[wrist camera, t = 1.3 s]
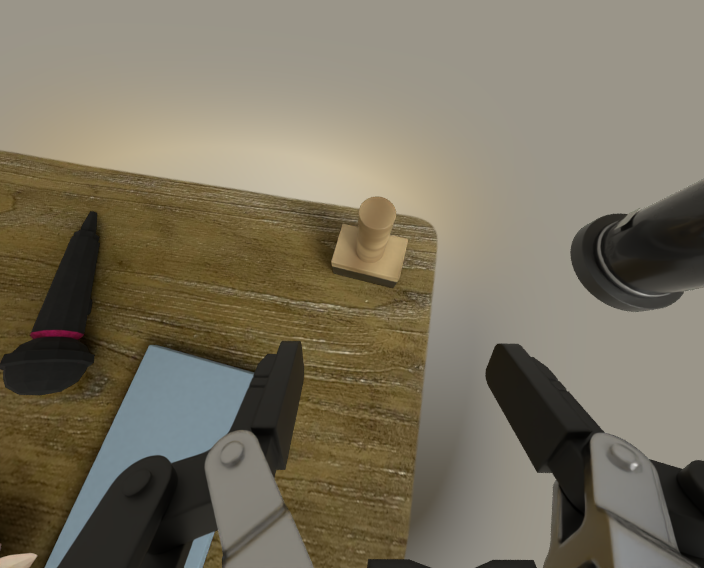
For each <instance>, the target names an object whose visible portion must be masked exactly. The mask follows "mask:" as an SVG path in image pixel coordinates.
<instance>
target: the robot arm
mask: <svg viewBox="0 0 704 568" xmlns="http://www.w3.org/2000/svg"><path fill="white" fill-rule="evenodd" d="M639 209H640V208H639ZM639 209H637V210H635V211H633V212H631V213H629V214H628V215H627V216H626V217H625V218H624V219H622V220H620V221H617V222H614V223H612V224H610V225H608V226H606V227H605V228H603V229H602V230H601V231H600V232H599V233H598V235H597V237H596V239H595V242H594V256H595V260H596V262H597V265H598V267H599V268H600V270H601V272H602V273H603V275H604V276H605V277H606V278H607V279H608V280H609V281H610V282H611V283H612V284H613V285H615V286H616V287H617V288H619V289H620V290H622V291H624V292H626V293H628V294H631V295H634V296H637V297H643V298H653V297H659V296H664V295H668V294H670V293H674V292H675V293H678V292H683V291H688V290H693V289H699V288H703V287H704V179H702V180H701V181H698V182H696V183H694V184H692V185H690V186H688V187H686V188H684V189H682V190H680V191H678V192H676V193H674V194H672V195H670V196H668V197H666V198H664V199H662V200H660V201H658V202H656V203H654V204H652V205H650V206H648V207H646V208H644V209H642V210H640V211H638V210H639ZM637 211H638V212H637ZM303 380H304V363H303V354H302V345H301V341H282V342H281V343H280V346H279V349H278V352H277V354H267V355H266V356H265V357H264V358H263V359H262V360H261V361H260V363H259V364H258V366H257V368H256V370H255V373H254V375H253V378H252V380H251V382H250V384H249V388H248V389H247V391H246V394H245V396H244V398H243V401H242V403H241V405H240V408H239V410H238V413H237V415H236V417H235V420H234V422H233V424H232V426H231V428H230V430H229V432H228V433H227V434H226V435H225V436H223V437H222V438H221V439H219V440H218V441H217V442H216V443H215V444H214V446H213V447H212V448H211V449H209V450H207V451H206V452H203V453H201V454H198V455H195V456H191V457H188V458H185V459H182V460H179V461H176V462H173V463H171V462H170V461H169V460H168V459H167V458H166V457H164V456H161V455H153V456H148V457H145V458H143V459H140V460H139V461H137V462H135V463H133V464H132V465H130V466H129V467H128V468H127V469H125V470H124V471H123V472H122V473H121V474H120V475H119V476H118V477H117V478H116V479H115V480H114V482H113V483H112V484H111V486H110V487H109V489H108V490H107V492H106V493H105V495H104V496H103V498H102V499H101V501H100V503H99V504H98V506H97V507H96V509H95V510H94V512H93V513H92V515H91V516H90V518H89V519H88V521H87V522H86V524H85V525H84V527H83V528H82V530H81V532H80V533H79V535H78V536H77V538H76V539H75V541H74V542H73V544H72V545H71V547H70V548H69V550H68V551H67V553H66V554H65V556H64V558H63V559H62V561H61V562H60V564H59V565H58V567H57V568H184V566H185V563H186V560H187V558H188V555H189V552H190V549H191V546H192V543H193V541H194V540H195V539H197V538H199V537H202V536H204V535H207V534H209V533H212V532H214V531H216V530H218V532H219V536H220V541H221V545H222V551H223V558H222V568H314V567H313V565H312V562H311V560H310V558H309V555H308V553H307V550H306V548H305V546H304V543H303V541H302V539H301V536H300V534H299V532H298V529H297V527H296V525H295V522H294V520H293V518H292V516H291V513H290V511H289V509H288V508H287V506H286V505H285V503H284V501H283V499H282V496H281V494H280V492H279V489H278V487H277V484H276V482H275V480H274V477H275V473H276V470H285V469H286V464H287V459H288V454H289V449H290V444H291V439H292V434H293V430H294V425H295V420H296V415H297V410H298V405H299V400H300V395H301V390H302V386H303ZM486 381H487V384H488V386H489V388H490V390H491V391H492V393H493V395H494V397H495V398H496V400H497V402H498V404H499V406H500V407H501V409H502V411H503V412H504V414H505V416H506V418H507V420H508V422H509V423H510V425H511V427H512V429H513V430H514V432H515V434H516V436H517V438H518V439H519V441H520V443H521V444H522V446H523V448H524V450H525V451H526V453H527V455H528V457H529V459H530V461H531V462H532V464H533V466H534V468H535V469H536V471H537V473H553V475H554V477H555V478H556V481H555V483H554V486H553V502H552V524H551V543H550V549H549V552H548V555H547V557H546V560H545V562H544V566H543V568H704V461H701V460H696V461H693V462H691V463H690V464H689V465H687V466H686V467H685V468H684V469H681V468H677V467H674V466H670V465H667V464H664V463H660V462H657V461H654V460H650V459H648V458H647V457H646V456H645V455H644V454H643V453H642V452H641V451H640V450H638V449H637V448H636V447H634V446H633V445H631V444H630V443H628V442H627V441H625V440H623V439H621V438H619V437H616V436H614V435H611V434H607V433H605V432H604V431H603V430H602V429H601V428H600V427H599V426H598V425H597V423H596V422H595V421H594V420H593V419H592V418H591V417H590V415H589V414H588V413H587V412H586V411H585V410H584V409H583V407H582V406H581V405H580V404H579V403H578V402H577V401H576V399H574V397H573V396H572V395H571V394H570V393H569V392H567V391H566V388H565V387H564V386H563V385H562V384H561V382H559V381H558V379H557V378H556V377H555V375H554V374H553V373H552V372H551V371H550V370H549V369H548V367H546V366H545V365H544V364H542V363H541V362H539V361H538V360H537V359H535V358H534V357H530V356H529V355H528V353H527V352H526V351H525V350H524V349H523V348H522V346H521V345H519V344H497V345H496V346H495V348H494V350H493V353H492V356H491V358H490V361H489V363H488V366H487V368H486ZM367 568H430V567H428V566H425V565H422V564H420V563H417V562H414V561H412V560H406V559H368V565H367ZM476 568H537V567H536V565H535V563H534V560H492V561H489V562H487V563H485V564H483V565H480V566H478V567H476Z"/></svg>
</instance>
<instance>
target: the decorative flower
mask: <svg viewBox="0 0 704 568" xmlns="http://www.w3.org/2000/svg"><path fill="white" fill-rule="evenodd" d="M0 549H1V543H0ZM36 557H37V555H35V554H33V553H28V554H18V555H9V556H6V557H2V558H0V568H29V567H30V566H31V564H32V563H33V561H34V560H35V558H36Z"/></svg>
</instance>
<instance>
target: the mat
mask: <svg viewBox="0 0 704 568" xmlns="http://www.w3.org/2000/svg"><path fill="white" fill-rule="evenodd" d="M253 375H254V372H250V371H247V370H243V369H240V368H236V367H233V366H229V365H226V364H222V363H219V362H215V361H212V360H208V359H205V358H201V357H197V356H194V355H190V354H187V353H183V352H180V351H176V350H173V349H169V348H166V347H162V346H159V345H149V347H148V349H147V351H146V353H145V355H144V358H143V360H142V362H141V364H140V366H139V368H138V370H137V372H136V375H135V377H134V379H133V381H132V383H131V385H130V387H129V389H128V392H127V394H126V396H125V398H124V400H123V402H122V404H121V406H120V408H119V411H118V413H117V415H116V417H115V419H114V421H113V423H112V425H111V428H110V430H109V432H108V434H107V436H106V438H105V440H104V442H103V445H102V447H101V449H100V451H99V453H98V455H97V457H96V459H95V462H94V464H93V466H92V468H91V470H90V472H89V474H88V476H87V479H86V481H85V483H84V485H83V487H82V489H81V491H80V493H79V495H78V498H77V500H76V502H75V504H74V506H73V508H72V510H71V512H70V515H69V517H68V519H67V521H66V523H65V525H64V527H63V529H62V532H61V534H60V536H59V538H58V540H57V542H56V544H55V546H54V549H53V551H52V553H51V555H50V557H49V559H48V561H47V563H46V566H45V568H57V567H58V565H59V564H60V562H61V561H62V559H63V558H64V556H65V554H66V553H67V551H68V550H69V548H70V547H71V545H72V544H73V542H74V541H75V539H76V538H77V536H78V535H79V533H80V532H81V530H82V528H83V527H84V525H85V524H86V522H87V521H88V519H89V518H90V516H91V515H92V513H93V512H94V510H95V509H96V507H97V506H98V504H99V503H100V501H101V499H102V498H103V496H104V495H105V493H106V492H107V490H108V489H109V487H110V486H111V484H112V483H113V482H114V480H115V479H116V478H117V477H118V476H119V475H120V474H121V473H122V472H123V471H124V470H125V469H127V468H128V467H129V466H130V465H132V464H133V463H135V462H137V461H139V460H140V459H143V458H145V457H148V456H153V455H161V456H164V457H166V458H167V459H168V460H169V461H170V462H171V463H173V462H176V461H179V460H182V459H185V458H188V457H191V456H195V455H198V454H201V453H203V452H206V451H207V450H209V449H211V448H212V447H213V446H214V444H215V443H216V442H217V441H218V440H219V439H221V438H222V437H223V436H225V435H226V434H227V433H228V432H229V430H230V428H231V426H232V424H233V422H234V420H235V417H236V415H237V413H238V410H239V408H240V405H241V403H242V401H243V398H244V396H245V394H246V391H247V389H248V388H249V384H250V382H251V380H252V378H253ZM214 532H215V531H214ZM214 532H212V533H209V534H207V535H204V536H202V537H199V538H197V539H195V540H194V541H193V543H192V546H191V549H190V552H189V555H188V558H187V560H186V563H185V566H184V568H203V565H204V562H205V559H206V556H207V553H208V550H209V547H210V544H211V541H212V538H213V535H214Z"/></svg>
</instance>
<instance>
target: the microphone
mask: <svg viewBox="0 0 704 568" xmlns="http://www.w3.org/2000/svg"><path fill="white" fill-rule="evenodd" d="M96 226H97V213H96V212H94V211H90V213H89V215H88V216H87V218H86V220H85V221H84V223H83V225H82V227H81V230H79V231H77V232H75V233H74V236H72V238H71V240H70V242H69V244H68V247H67V249H66V251H65V254H64V256H63V258H62V261H61V263H60V265H59V268H58V270H57V273H56V275H55V277H54V280H53V282H52V284H51V287H50V289H49V291H48V294H47V296H46V298H45V301H44V303H43V305H42V308H41V310H40V313H39V315H38V317H37V320H36V322H35V324H34V327H33V329H32V331H31V334H30V336H31V337H32V338H33V340H31V341H28V342H26V343H24V344H22V345H20V346H19V347H18V348H17V349H16V350H14V351H13V352H12V353H10V354H4V356H3V358H2V361H1V363H0V369H1V370H4V371H3V380H4V384H5V387H6V388H8V389H9V390H11V391H13V392H15V393H17V394H19V395H45V394H50V393H56V392H61V391H63V390H64V389H66V388H68V387H69V386H71V385H73V384H75V383H76V382H78V381H79V379H80V378H81V377H82V375H83V374H84V373H85V371H86V369H87V367H89V366H90V365H91V364H93V363H94V356H95V355H93V354H90V353H89V350H88V348H87V346H86V345H84V344H83V343H81V342H80V341H78V340H79V339H80V338H81V337H82V336H83V335H84V333H85V327H86V321H87V315H89V314H90V313H91V307H92V300H91V299H90V297H91V291H92V286H93V280H94V274H95V268H96V262H97V256H98V250H99V245H100V243H99V238H100V237H99V236H98V235H96Z"/></svg>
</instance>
